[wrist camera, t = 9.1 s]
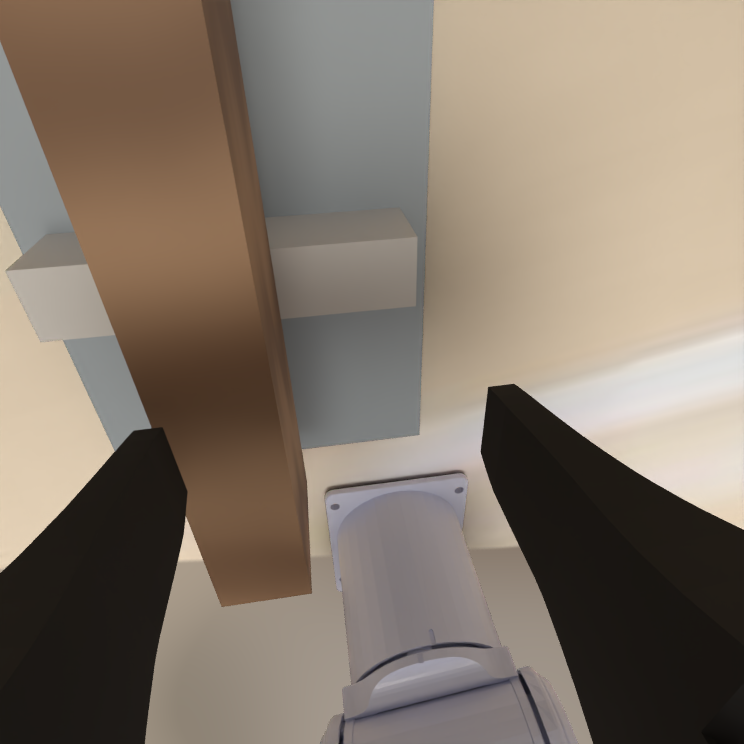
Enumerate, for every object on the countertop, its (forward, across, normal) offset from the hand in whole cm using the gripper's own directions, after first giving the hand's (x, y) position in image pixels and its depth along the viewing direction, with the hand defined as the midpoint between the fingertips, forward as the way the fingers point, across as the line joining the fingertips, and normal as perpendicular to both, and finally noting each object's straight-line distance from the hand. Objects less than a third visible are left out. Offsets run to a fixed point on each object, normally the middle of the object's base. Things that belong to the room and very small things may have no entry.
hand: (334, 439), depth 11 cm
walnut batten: (+6, +3, -1) cm, 7 cm away
